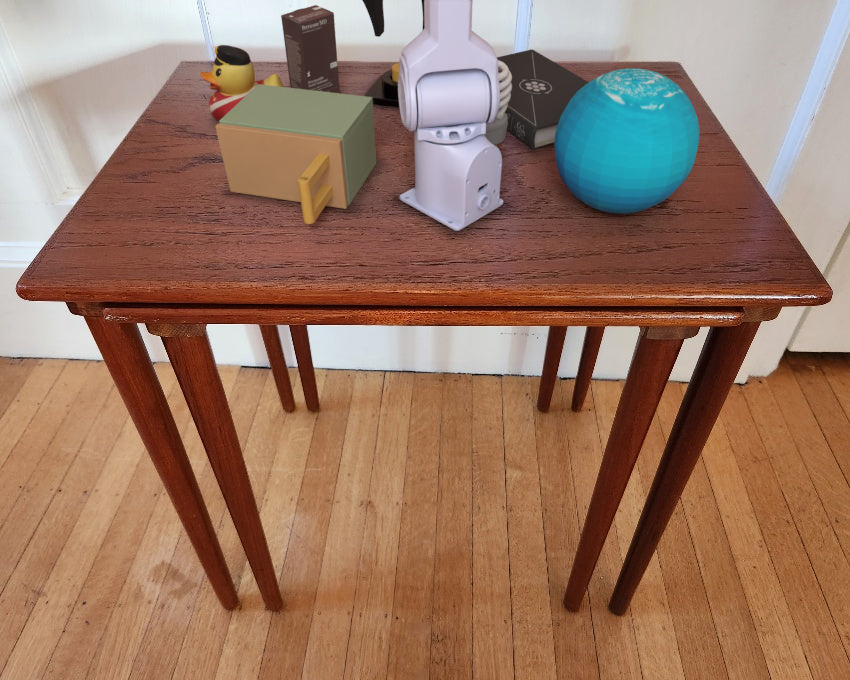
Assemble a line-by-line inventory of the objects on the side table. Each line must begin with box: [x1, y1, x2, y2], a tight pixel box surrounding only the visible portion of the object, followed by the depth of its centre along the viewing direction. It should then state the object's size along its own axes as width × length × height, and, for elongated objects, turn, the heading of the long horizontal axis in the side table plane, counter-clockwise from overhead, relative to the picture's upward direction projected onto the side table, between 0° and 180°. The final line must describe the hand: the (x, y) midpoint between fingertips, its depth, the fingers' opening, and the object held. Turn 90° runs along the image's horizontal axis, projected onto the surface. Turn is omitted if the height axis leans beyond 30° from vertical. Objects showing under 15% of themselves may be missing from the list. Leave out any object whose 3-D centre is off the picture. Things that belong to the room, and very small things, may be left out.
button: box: [391, 62, 400, 82], centre depth 97 cm, size 4×4×2 cm
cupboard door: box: [214, 122, 349, 225], centre depth 74 cm, size 7×15×8 cm, turn 75°
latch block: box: [364, 68, 399, 108], centre depth 99 cm, size 10×8×3 cm
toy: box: [200, 44, 285, 123], centre depth 91 cm, size 9×11×10 cm
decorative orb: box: [553, 67, 701, 215], centre depth 73 cm, size 15×15×15 cm
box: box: [280, 4, 341, 94], centre depth 95 cm, size 6×4×12 cm
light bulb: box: [484, 60, 512, 146], centre depth 83 cm, size 6×6×12 cm
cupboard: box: [218, 84, 378, 206], centre depth 80 cm, size 10×15×9 cm
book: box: [496, 49, 590, 150], centre depth 96 cm, size 22×15×3 cm
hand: (403, 36), depth 94 cm, fingers open, 6 cm apart
